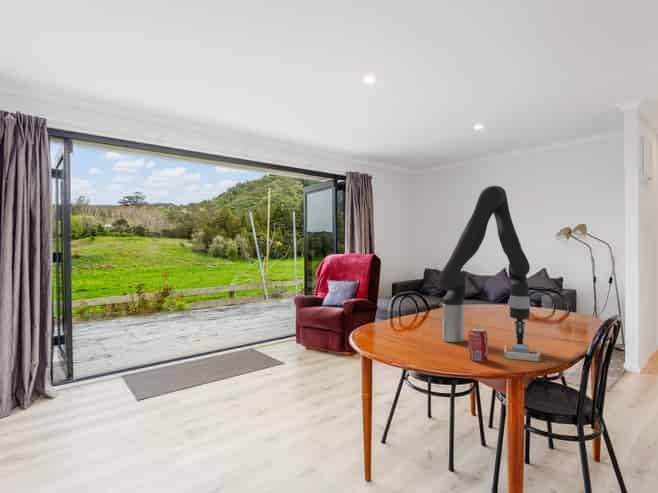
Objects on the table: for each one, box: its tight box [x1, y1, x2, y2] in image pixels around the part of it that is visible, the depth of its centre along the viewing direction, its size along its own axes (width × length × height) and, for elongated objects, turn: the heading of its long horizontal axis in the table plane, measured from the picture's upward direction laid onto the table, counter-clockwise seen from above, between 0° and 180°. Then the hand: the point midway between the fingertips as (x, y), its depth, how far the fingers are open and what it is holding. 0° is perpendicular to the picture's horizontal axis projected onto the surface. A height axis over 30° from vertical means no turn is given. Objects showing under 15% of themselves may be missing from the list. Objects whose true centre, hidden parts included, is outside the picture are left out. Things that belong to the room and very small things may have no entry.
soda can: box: [467, 327, 489, 363], centre depth 149 cm, size 7×7×12 cm
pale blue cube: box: [511, 343, 530, 354], centre depth 153 cm, size 6×6×4 cm
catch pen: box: [503, 344, 541, 362], centre depth 153 cm, size 13×11×2 cm
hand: (520, 347), depth 160 cm, fingers closed
